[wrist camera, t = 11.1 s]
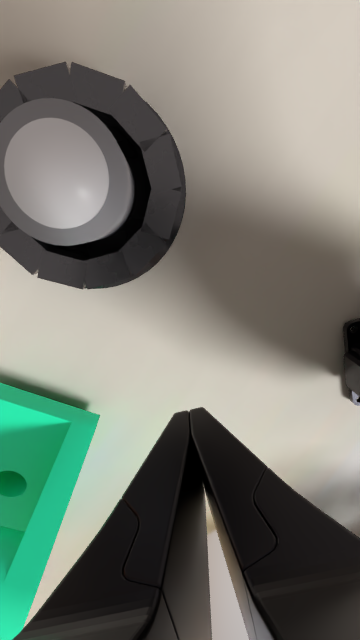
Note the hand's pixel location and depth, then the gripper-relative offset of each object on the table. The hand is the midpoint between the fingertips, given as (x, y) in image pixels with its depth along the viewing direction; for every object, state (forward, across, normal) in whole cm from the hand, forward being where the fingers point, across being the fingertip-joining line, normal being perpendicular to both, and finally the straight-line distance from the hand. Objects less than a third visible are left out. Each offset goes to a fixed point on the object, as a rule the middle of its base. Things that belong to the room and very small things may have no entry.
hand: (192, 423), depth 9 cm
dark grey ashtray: (+12, +3, -8) cm, 15 cm away
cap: (+11, +3, -8) cm, 14 cm away
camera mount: (+12, +13, +8) cm, 20 cm away
